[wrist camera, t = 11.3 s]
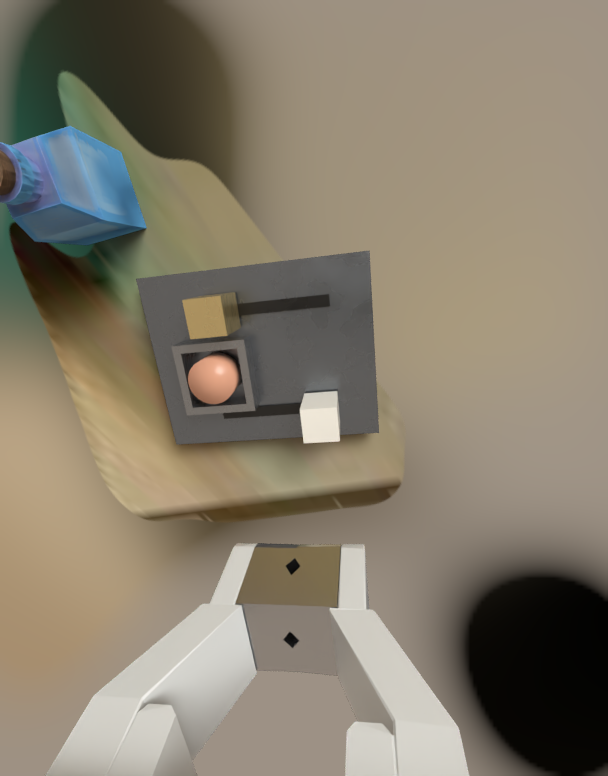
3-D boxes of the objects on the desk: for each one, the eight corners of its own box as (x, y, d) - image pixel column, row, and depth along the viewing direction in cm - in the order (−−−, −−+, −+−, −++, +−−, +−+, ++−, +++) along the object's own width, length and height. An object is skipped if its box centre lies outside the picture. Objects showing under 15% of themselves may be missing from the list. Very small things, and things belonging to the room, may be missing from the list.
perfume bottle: (87, 245, 34) (-40, 235, 23) (59, 172, 32) (-94, 122, 21) (146, 228, 33) (45, 208, 22) (120, 152, 31) (-5, 87, 20)
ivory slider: (337, 391, 33) (336, 407, 29) (340, 421, 34) (339, 441, 30) (304, 393, 33) (299, 409, 29) (307, 423, 34) (303, 443, 30)
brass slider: (235, 292, 31) (220, 295, 27) (240, 327, 32) (227, 335, 28) (201, 295, 31) (182, 300, 27) (208, 330, 32) (190, 339, 28)
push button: (237, 350, 32) (229, 357, 30) (244, 392, 34) (237, 402, 31) (194, 354, 33) (183, 361, 30) (203, 395, 34) (193, 405, 32)
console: (366, 251, 32) (371, 249, 27) (376, 419, 37) (381, 442, 32) (153, 277, 34) (123, 279, 30) (188, 431, 39) (167, 454, 35)
